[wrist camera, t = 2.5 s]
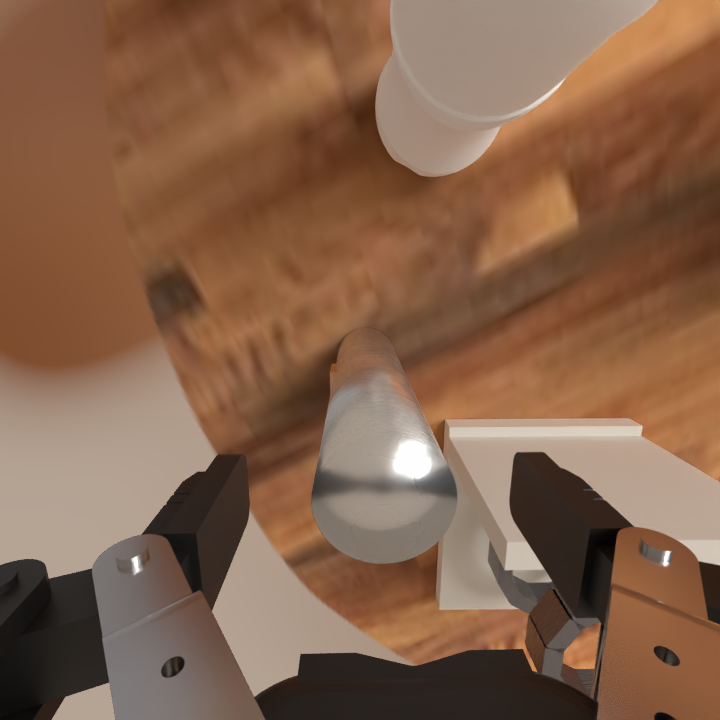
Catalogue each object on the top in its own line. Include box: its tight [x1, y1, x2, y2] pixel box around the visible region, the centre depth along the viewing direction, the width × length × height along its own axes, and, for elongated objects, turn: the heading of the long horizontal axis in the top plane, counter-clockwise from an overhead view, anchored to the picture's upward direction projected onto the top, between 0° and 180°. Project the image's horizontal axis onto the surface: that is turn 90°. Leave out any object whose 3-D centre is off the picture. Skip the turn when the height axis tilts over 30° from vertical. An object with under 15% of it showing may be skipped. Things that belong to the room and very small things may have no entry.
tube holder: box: [436, 418, 720, 610], centre depth 25 cm, size 14×16×12 cm
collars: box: [488, 541, 600, 698], centre depth 24 cm, size 8×11×8 cm
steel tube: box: [311, 328, 457, 564], centre depth 19 cm, size 4×4×18 cm
